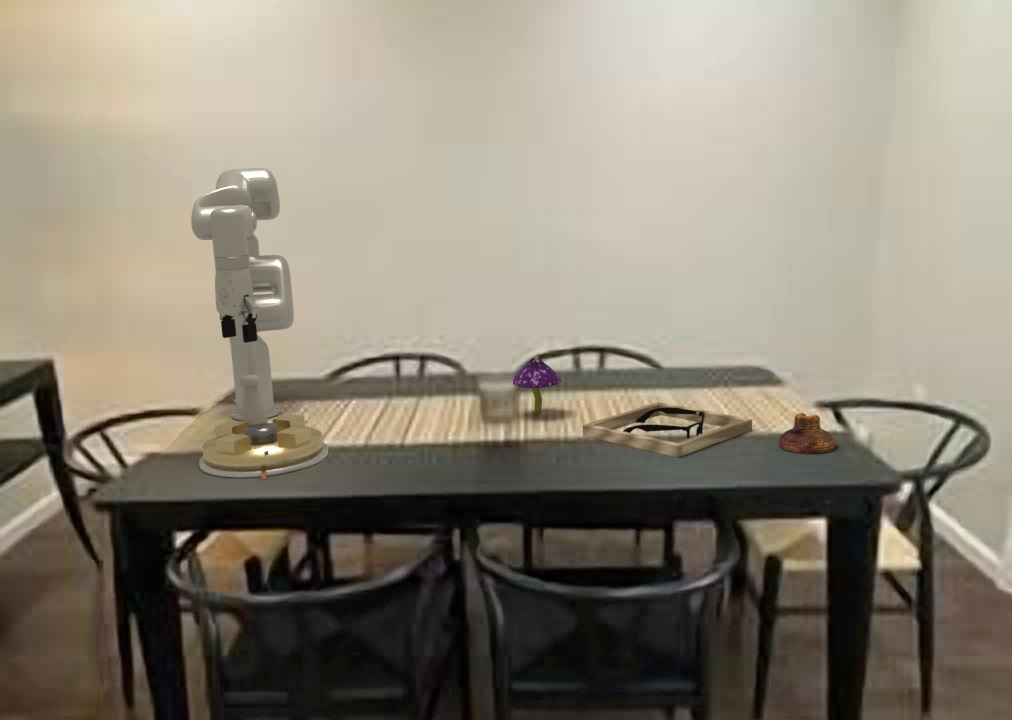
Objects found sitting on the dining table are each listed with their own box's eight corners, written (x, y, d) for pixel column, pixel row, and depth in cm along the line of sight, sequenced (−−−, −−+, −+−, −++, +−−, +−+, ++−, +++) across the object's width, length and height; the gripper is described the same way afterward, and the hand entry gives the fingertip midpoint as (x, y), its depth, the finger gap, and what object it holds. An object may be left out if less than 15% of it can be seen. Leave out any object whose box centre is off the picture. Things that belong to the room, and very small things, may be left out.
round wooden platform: (269, 476, 207) (267, 448, 206) (178, 463, 219) (175, 437, 218) (346, 443, 230) (344, 417, 228) (259, 433, 242) (257, 408, 241)
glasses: (691, 450, 220) (692, 428, 219) (614, 440, 227) (615, 419, 226) (710, 431, 234) (711, 410, 233) (637, 422, 242) (637, 402, 241)
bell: (767, 444, 218) (767, 412, 217) (813, 437, 222) (813, 405, 221) (800, 458, 208) (801, 424, 206) (848, 450, 212) (849, 416, 210)
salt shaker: (264, 433, 230) (259, 377, 227) (239, 434, 230) (233, 379, 227) (270, 426, 235) (264, 372, 233) (245, 427, 235) (240, 373, 233)
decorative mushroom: (502, 416, 252) (500, 357, 249) (540, 406, 260) (537, 349, 257) (535, 424, 242) (533, 363, 239) (573, 414, 250) (571, 355, 247)
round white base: (177, 461, 226) (177, 456, 225) (287, 434, 244) (286, 429, 244) (238, 486, 205) (237, 481, 205) (352, 455, 224) (352, 450, 223)
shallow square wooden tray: (582, 435, 231) (582, 425, 231) (658, 411, 249) (657, 402, 248) (678, 457, 211) (677, 446, 211) (752, 429, 229) (752, 419, 229)
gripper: (198, 263, 228) (206, 338, 231) (235, 267, 215) (243, 346, 219) (229, 260, 233) (236, 333, 236) (267, 264, 220) (274, 340, 224)
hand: (239, 339), depth 228 cm, fingers open, 9 cm apart
